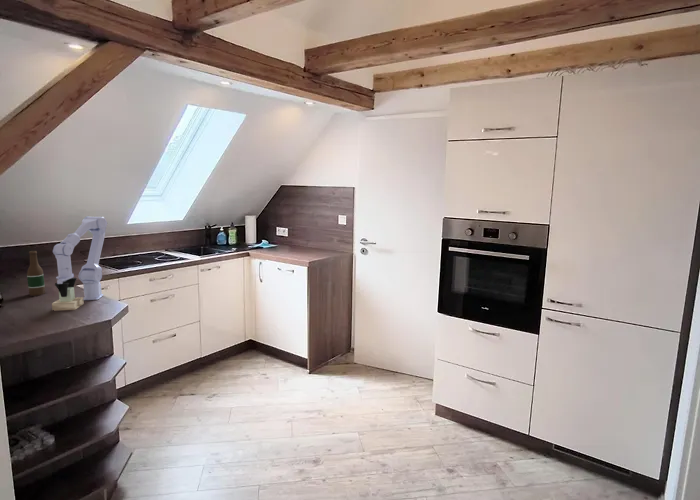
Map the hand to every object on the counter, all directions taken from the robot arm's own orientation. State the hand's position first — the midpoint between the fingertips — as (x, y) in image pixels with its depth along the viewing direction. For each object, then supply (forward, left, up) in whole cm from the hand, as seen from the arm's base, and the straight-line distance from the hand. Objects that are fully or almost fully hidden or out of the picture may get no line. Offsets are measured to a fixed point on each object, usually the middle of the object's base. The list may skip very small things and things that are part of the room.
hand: (67, 294), depth 216 cm
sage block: (0, 0, -3) cm, 3 cm away
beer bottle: (-29, -26, -7) cm, 40 cm away
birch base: (0, 0, -7) cm, 7 cm away
